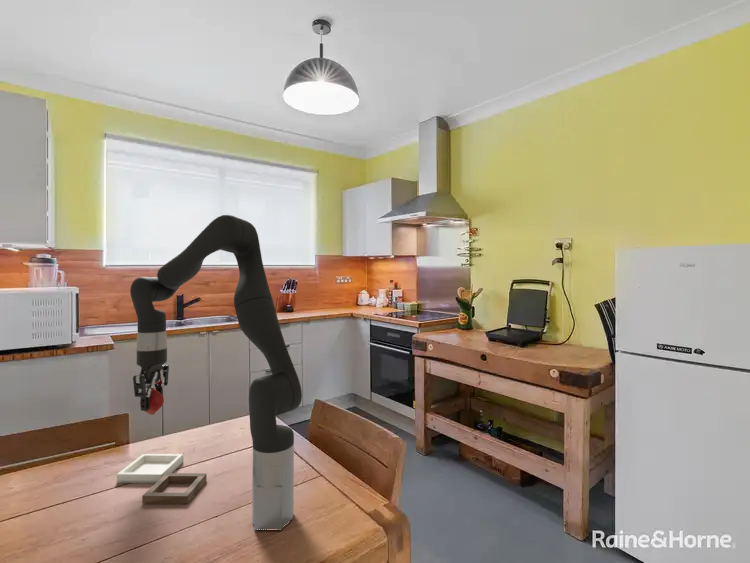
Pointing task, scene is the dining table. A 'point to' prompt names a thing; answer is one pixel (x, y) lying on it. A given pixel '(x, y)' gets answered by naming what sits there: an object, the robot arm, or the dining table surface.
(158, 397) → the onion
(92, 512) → the dining table surface
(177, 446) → the dining table surface
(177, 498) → the frame
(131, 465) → the tray
